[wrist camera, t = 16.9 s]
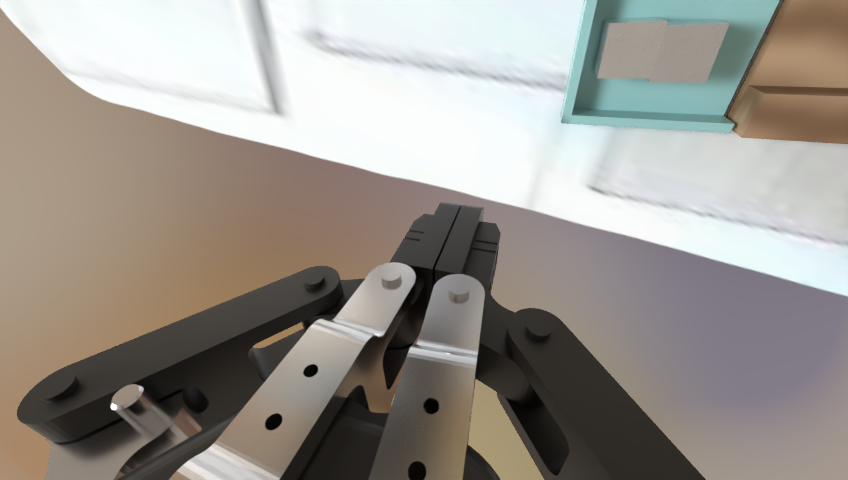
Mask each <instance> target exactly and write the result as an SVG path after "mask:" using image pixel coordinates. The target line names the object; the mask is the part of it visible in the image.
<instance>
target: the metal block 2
mask: <svg viewBox="0 0 848 480" xmlns="http://www.w3.org/2000/svg"><path fill="white" fill-rule="evenodd" d="M729 24H730V23H727V22H722V21H717V20H712V19H701V20H678V21H668V23H667V26H666V29H665V32H664V36H663V39H662V42H661V45H660V49H659V52H658V55H657V58H656V62H655V65H654V68H653V71H652V75H651V78H645V79H646V80H647V81H648V82H649V83H706V81H707V79H708V76H709V74H710V71H711V69H712V66H713V64H714V61H715V59H716V56H717V54H718V51H719V49H720V46H721V44H722V41H723V39H724V36H725V34H726V31H727V29H728V26H729Z"/></svg>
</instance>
